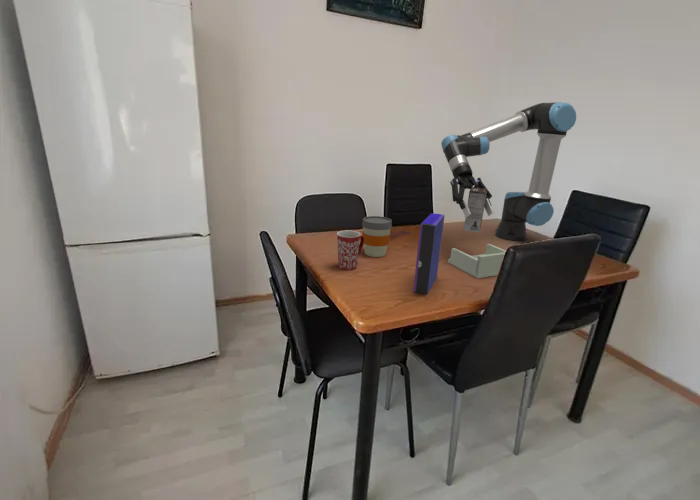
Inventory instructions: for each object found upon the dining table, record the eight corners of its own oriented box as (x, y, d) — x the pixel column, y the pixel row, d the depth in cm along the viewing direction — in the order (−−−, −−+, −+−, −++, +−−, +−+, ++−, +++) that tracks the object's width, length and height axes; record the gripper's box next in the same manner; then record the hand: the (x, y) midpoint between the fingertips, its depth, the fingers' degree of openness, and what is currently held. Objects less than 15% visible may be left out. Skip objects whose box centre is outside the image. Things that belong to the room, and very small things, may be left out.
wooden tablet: (380, 244, 185) (380, 241, 184) (364, 239, 192) (365, 236, 191) (415, 234, 203) (415, 231, 202) (399, 230, 209) (400, 227, 209)
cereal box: (424, 274, 150) (431, 212, 142) (437, 277, 148) (444, 214, 141) (413, 292, 135) (420, 223, 127) (427, 294, 133) (435, 225, 125)
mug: (346, 272, 149) (348, 238, 144) (331, 265, 155) (332, 232, 150) (370, 265, 157) (372, 232, 152) (354, 259, 163) (356, 227, 159)
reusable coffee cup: (395, 254, 171) (398, 220, 166) (377, 260, 162) (379, 225, 158) (373, 246, 179) (375, 214, 174) (354, 252, 170) (356, 219, 166)
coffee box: (465, 225, 166) (471, 186, 161) (481, 227, 164) (487, 188, 159) (463, 230, 158) (469, 190, 153) (479, 233, 156) (486, 192, 151)
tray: (485, 257, 172) (488, 238, 169) (517, 272, 157) (521, 251, 154) (447, 262, 164) (450, 242, 161) (477, 278, 149) (481, 257, 146)
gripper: (477, 173, 172) (496, 218, 164) (432, 174, 163) (450, 221, 155) (488, 163, 166) (508, 208, 157) (442, 163, 157) (460, 211, 149)
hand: (479, 214), depth 156 cm, fingers closed on coffee box, 10 cm apart
